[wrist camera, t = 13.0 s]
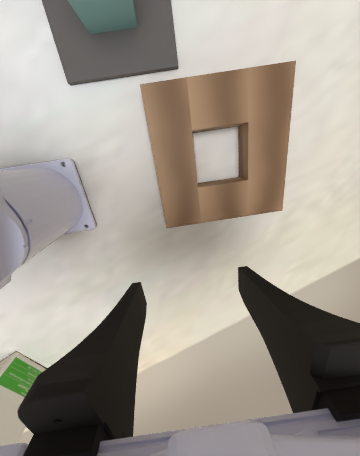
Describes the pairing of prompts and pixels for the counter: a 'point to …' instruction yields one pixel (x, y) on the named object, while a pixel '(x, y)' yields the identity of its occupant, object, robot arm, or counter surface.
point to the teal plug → (105, 14)
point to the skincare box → (14, 394)
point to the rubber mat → (114, 43)
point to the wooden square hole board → (218, 119)
